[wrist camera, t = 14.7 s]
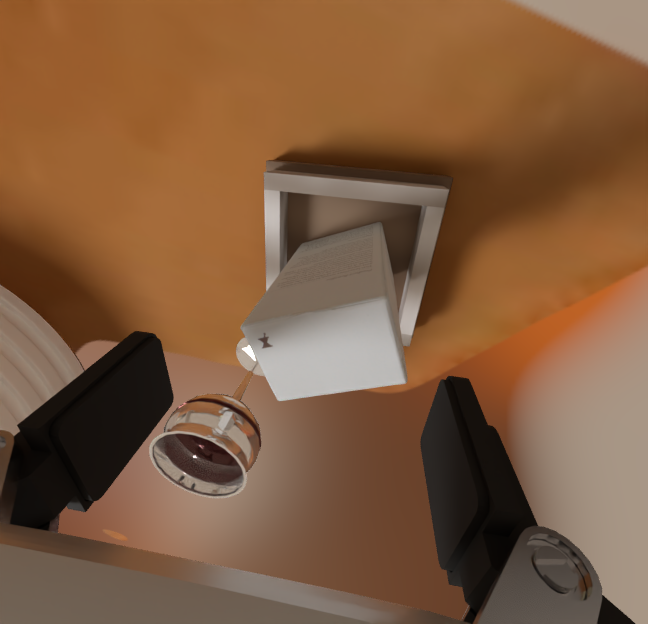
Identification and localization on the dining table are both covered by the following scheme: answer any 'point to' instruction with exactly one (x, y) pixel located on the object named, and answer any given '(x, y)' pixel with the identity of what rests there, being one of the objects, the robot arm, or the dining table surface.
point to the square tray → (357, 219)
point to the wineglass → (211, 439)
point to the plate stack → (29, 361)
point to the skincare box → (330, 319)
